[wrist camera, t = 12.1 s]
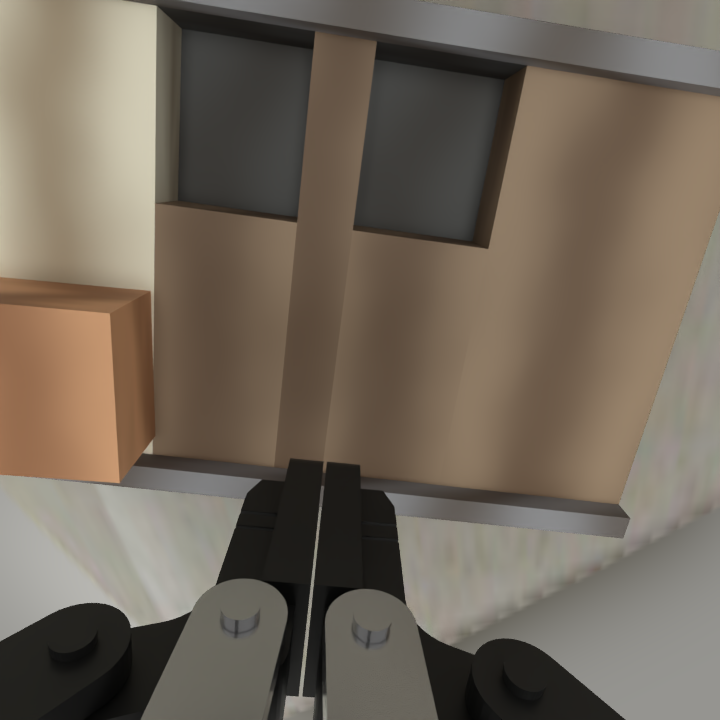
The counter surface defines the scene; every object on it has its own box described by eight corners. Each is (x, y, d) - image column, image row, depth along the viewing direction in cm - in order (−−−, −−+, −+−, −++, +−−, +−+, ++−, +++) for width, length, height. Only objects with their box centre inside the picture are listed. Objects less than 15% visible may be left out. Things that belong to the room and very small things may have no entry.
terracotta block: (150, 290, 19) (109, 313, 16) (155, 436, 21) (119, 482, 18) (-17, 275, 19) (-94, 295, 16) (3, 424, 21) (-62, 470, 18)
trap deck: (708, 85, 20) (792, 63, 16) (583, 486, 26) (623, 538, 22) (14, -28, 19) (-71, -82, 15) (44, 427, 24) (-12, 472, 20)
